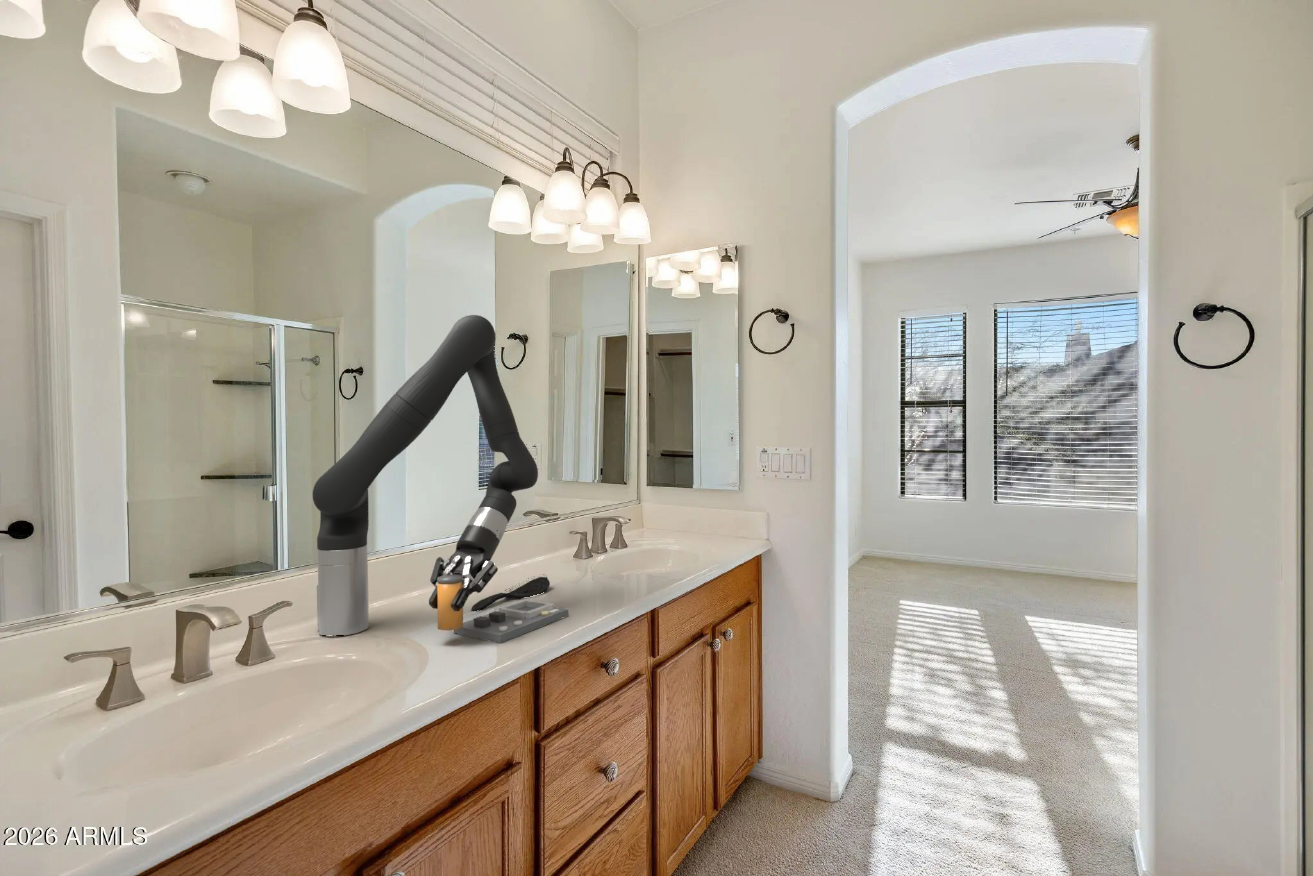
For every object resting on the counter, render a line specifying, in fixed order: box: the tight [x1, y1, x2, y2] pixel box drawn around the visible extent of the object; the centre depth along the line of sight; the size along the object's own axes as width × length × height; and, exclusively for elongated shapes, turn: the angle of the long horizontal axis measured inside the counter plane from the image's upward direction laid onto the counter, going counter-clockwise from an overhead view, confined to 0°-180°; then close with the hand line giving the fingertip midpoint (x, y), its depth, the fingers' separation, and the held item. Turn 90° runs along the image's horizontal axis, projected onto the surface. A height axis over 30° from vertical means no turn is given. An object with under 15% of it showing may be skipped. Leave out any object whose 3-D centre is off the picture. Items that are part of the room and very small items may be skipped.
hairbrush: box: [470, 573, 551, 612], centre depth 151 cm, size 8×4×25 cm
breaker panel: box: [453, 599, 569, 644], centre depth 129 cm, size 13×20×3 cm, turn 149°
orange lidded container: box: [437, 573, 464, 631], centre depth 118 cm, size 5×5×10 cm
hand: (443, 607), depth 116 cm, fingers closed on orange lidded container, 4 cm apart
